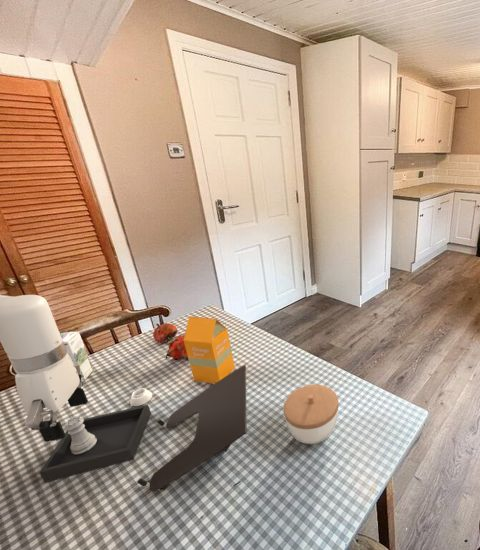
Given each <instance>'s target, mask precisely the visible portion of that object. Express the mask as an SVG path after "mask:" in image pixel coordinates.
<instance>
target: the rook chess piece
mask: <svg viewBox="0 0 480 550" xmlns="http://www.w3.org/2000/svg"><path fill="white" fill-rule="evenodd" d="M84 419H85V418H83V417H80V415H78V416H73V418H69V419H68V420H67V421H65V423H64V427H63V430H64V431H67V430H68V434H70V435H71V438H72V442H71V446H70V448H71V451H72V453H73V454H82V453H85V452H87V451H89V450H90V449H91V448H93V446H94V445H95V444H96V441H97V439H96V438H95V435H93V434H91V433H88V432H87V430H86V429H85V428H84V427H85V425H84V424H82V423H83V421H84Z"/></svg>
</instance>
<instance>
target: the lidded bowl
mask: <svg viewBox="0 0 480 550" xmlns="http://www.w3.org/2000/svg"><path fill="white" fill-rule="evenodd" d="M283 415H284V418H285V423H286V426H287V429H288V431H289V433H290V435H291V436H292V437H293V438H294V439H295V440H296V441H298V442H300V443H302V444H306V445H317V444H320V443H321V442H323V441H325V440H326V439H327V438H329V436H331V434H332V433H333V431H334V430H335V427H336V425H337V422H338V417H339V416H338V415H339V398H338V395H337V393H336V392H335V390H333V389H332V388H331V387H330V386H326V385H323V384H314V383H313V384H307V385H304V386H301V387H299V388H296V389H295V390H294V391H292V392H291V393H290V394H289V395H288V396H287V398H286V400H285V402H284V403H283Z"/></svg>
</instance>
